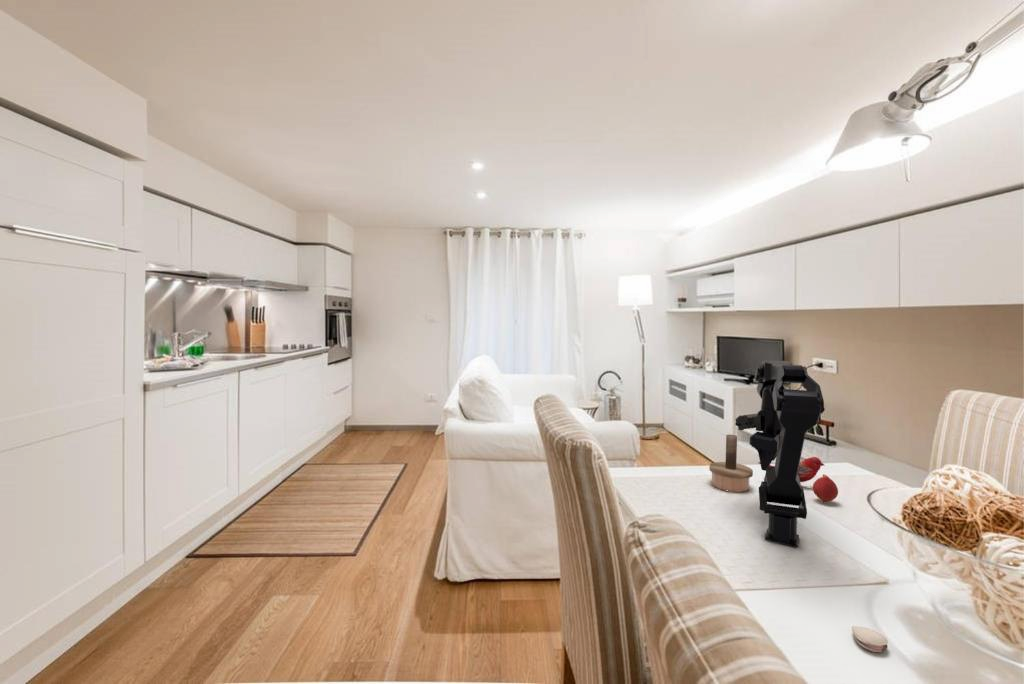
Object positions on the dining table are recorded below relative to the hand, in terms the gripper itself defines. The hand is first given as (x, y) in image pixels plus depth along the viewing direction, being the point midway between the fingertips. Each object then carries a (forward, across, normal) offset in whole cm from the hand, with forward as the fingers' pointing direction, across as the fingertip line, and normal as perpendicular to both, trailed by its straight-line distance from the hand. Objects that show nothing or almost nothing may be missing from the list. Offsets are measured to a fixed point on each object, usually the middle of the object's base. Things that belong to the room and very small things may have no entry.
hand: (767, 465), depth 120 cm
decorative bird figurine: (+14, -25, +2) cm, 29 cm away
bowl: (+14, -13, -12) cm, 22 cm away
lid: (+10, -13, -12) cm, 20 cm away
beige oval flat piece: (+9, +46, +24) cm, 53 cm away
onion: (+13, -17, +12) cm, 25 cm away
